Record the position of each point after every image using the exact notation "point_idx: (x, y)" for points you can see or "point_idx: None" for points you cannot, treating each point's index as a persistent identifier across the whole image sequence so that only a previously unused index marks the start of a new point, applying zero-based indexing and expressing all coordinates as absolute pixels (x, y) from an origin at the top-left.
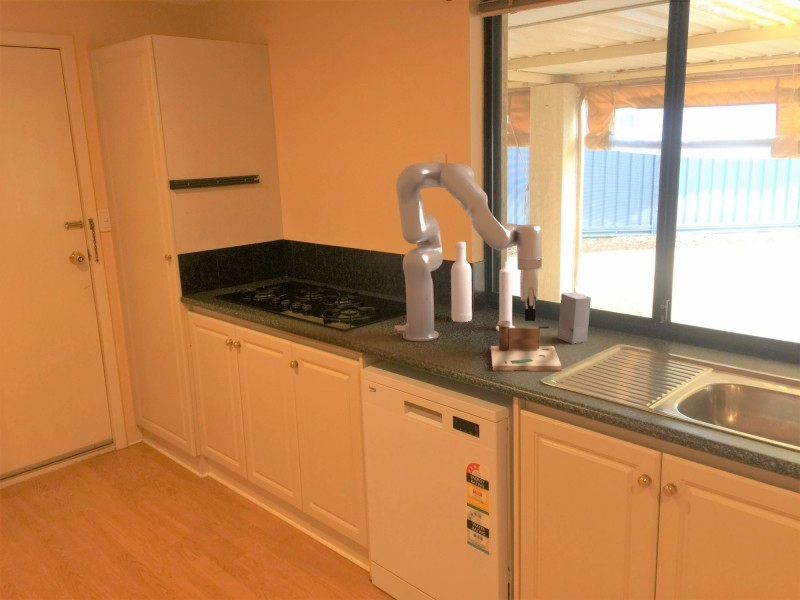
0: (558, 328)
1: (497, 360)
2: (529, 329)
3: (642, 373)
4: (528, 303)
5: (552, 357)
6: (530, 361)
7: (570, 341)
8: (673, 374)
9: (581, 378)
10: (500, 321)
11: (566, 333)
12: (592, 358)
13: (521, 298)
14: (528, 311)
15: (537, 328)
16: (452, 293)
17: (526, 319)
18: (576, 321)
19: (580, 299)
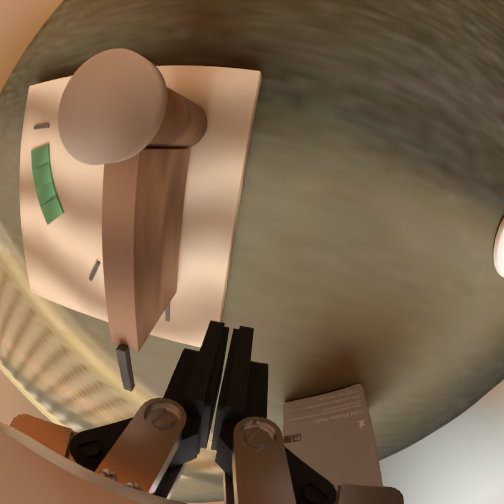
0: (366, 410)
1: (60, 95)
2: (106, 289)
3: (71, 406)
4: (71, 448)
5: (85, 298)
6: (44, 214)
7: (291, 405)
8: (81, 430)
9: (16, 305)
10: (135, 71)
11: (315, 417)
12: (141, 393)
13: (44, 474)
14: (166, 395)
15: (116, 336)
16: None
17: (207, 332)
18: None
19: None
